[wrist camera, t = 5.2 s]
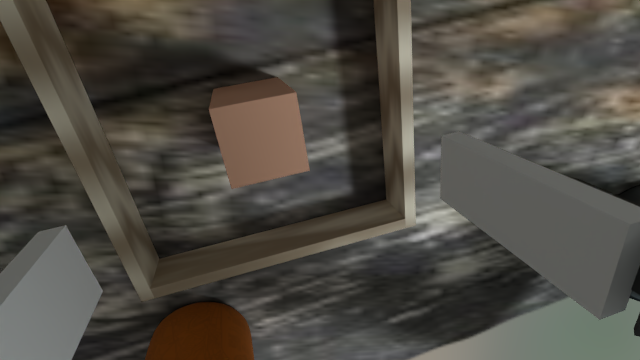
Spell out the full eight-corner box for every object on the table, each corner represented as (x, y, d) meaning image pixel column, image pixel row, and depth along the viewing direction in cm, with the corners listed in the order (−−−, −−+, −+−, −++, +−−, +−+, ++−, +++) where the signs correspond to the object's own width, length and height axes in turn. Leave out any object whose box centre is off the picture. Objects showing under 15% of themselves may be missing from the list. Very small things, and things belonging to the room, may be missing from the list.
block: (288, 137, 29) (309, 170, 21) (230, 149, 28) (231, 188, 21) (277, 77, 26) (296, 92, 19) (213, 88, 26) (208, 109, 18)
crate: (395, 205, 34) (415, 225, 31) (151, 270, 30) (141, 302, 27) (381, -83, 24) (408, -103, 20) (7, -43, 20) (-40, -60, 16)
